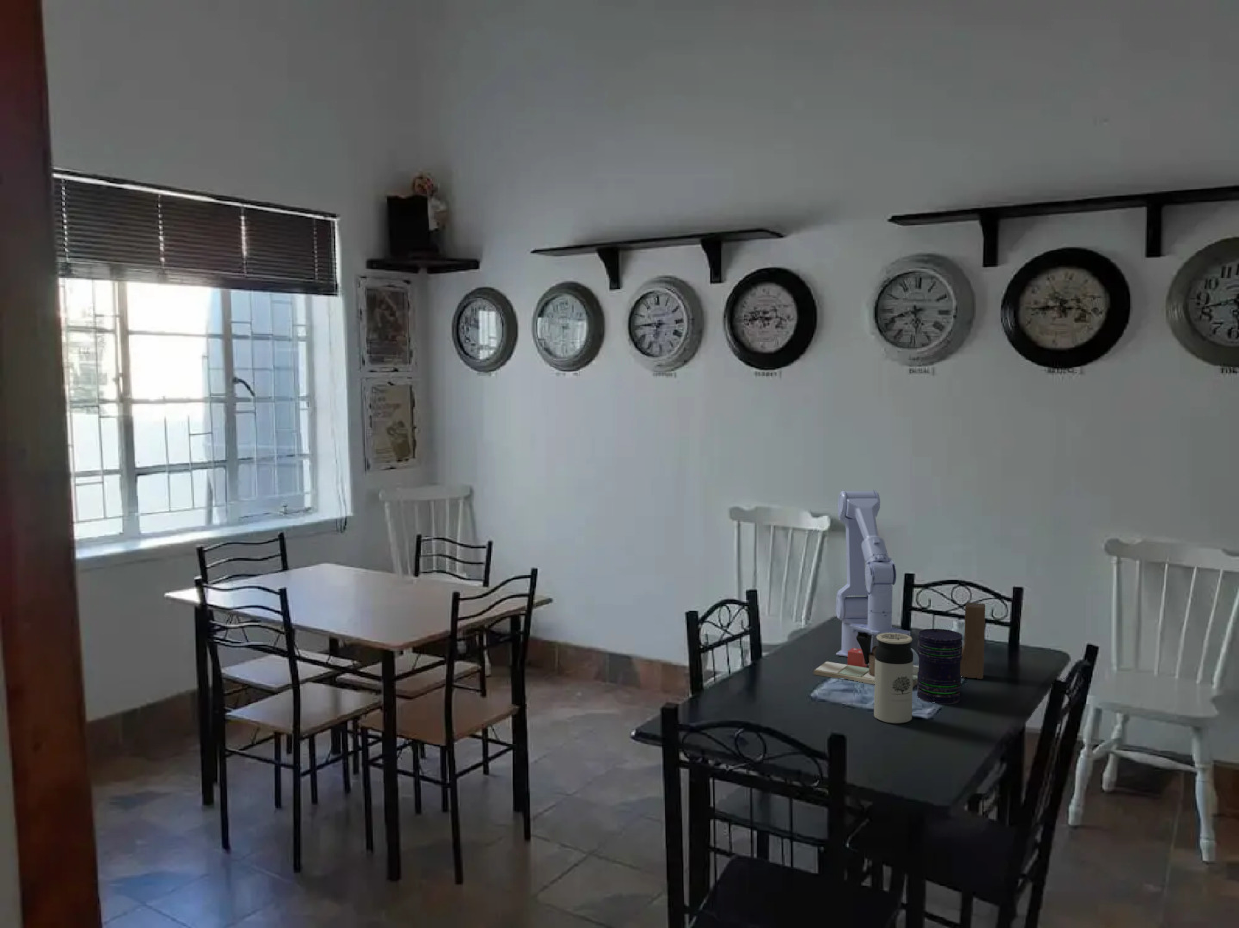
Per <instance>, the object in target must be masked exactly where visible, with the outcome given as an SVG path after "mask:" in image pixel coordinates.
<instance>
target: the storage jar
mask: <svg viewBox="0 0 1239 928" xmlns="http://www.w3.org/2000/svg"><path fill="white" fill-rule="evenodd" d="M962 640H963V634H962V633H960V632H958V631H955V630H950V629H945V628H944V629H943V628H926V629H921V630H919V631H918V639H917V641H918V642H917V654H918V657H919V671H918V675H917V678H918V679H917V684H916V686H917V687H916V688H917V693H916V696H918V697H917V698H918V699H919V698H920V699H919V700H921V701H923V702H926V703H929V702H935V703H941V704H940V705H953V704H957V703H960V702H961V700H962V699H961V692H962V691H961V690H962V677H961V675H960V663H961V660H962V648H963V641H962ZM935 703H934V704H935Z"/></svg>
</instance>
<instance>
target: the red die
mask: <svg viewBox="0 0 1239 928" xmlns="http://www.w3.org/2000/svg"><path fill="white" fill-rule="evenodd" d="M846 665H852V666H859V667H865V668H867V667H868V666H869V664H865V660H864V656H863V653H862V650H861V649H858V648H852V649H850V650H849V651H848V657H847V663H846Z"/></svg>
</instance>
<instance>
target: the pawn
mask: <svg viewBox="0 0 1239 928" xmlns="http://www.w3.org/2000/svg"><path fill="white" fill-rule="evenodd" d="M877 646H878V645H873V648H872V652H870V653H869V654H868V656H869V664H868V668H869V674H870V675H871V676H875V650H876V648H877Z"/></svg>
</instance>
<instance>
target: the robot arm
mask: <svg viewBox="0 0 1239 928" xmlns="http://www.w3.org/2000/svg"><path fill="white" fill-rule="evenodd" d="M880 497H881V496H880V494H879V492H878V491H877V490H846V491H845V490H841V491H840V492H839V494H838V499H837V516H838V521H839V522H842V523H844V527H845V528H844V529H845V544H846V545H845V547H846V548H845V549H846V550H845V554H846V584H845V585H844V586H842V587H841V588H840V589H839V590H837V593H836V599H835V600H836V601H835V613H836V617H837V619H838V620H839V621H841V649H840V650H839V651H837V652H836V653H835V655H836V656H841V657H847V658H848V651H849V650H850V649H852V648H858V649H861V650H862V653H863V656H864V660H865V664H868V665H869V656H868V654H869V653H870V652H872V648H873V647H874V645H873V642H874V639H873V637H875V636H876V637H877V635H879V634H882V633H899V634H905V635H908V636H910V637H911V630H906V629H905V630H904V629H901V628H896V627H893V586H894V585H895V584H896V582H897V568H896V564H895V562H894V561H893V559H892V558H890V557H889V553H888V550H887V546H886V543H885V540H884V539H883V538H882V537H880V536H879V532H878V526H877V519H876V518H877V517H878V515H879V511H880V508H881V498H880Z"/></svg>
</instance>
